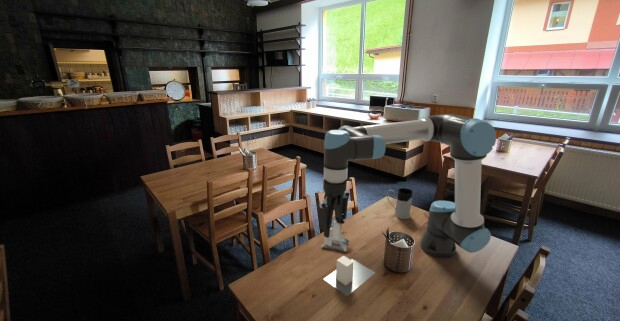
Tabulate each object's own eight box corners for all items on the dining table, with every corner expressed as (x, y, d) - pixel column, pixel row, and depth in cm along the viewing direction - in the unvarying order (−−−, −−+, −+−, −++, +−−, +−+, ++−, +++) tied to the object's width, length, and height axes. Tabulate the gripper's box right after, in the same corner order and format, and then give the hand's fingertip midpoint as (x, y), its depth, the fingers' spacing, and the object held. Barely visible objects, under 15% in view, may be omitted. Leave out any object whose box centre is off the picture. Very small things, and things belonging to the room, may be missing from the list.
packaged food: (345, 255, 128) (346, 246, 126) (320, 250, 131) (320, 241, 129) (349, 244, 135) (350, 235, 134) (325, 240, 139) (325, 231, 137)
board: (351, 261, 124) (351, 258, 124) (375, 275, 116) (375, 272, 115) (323, 281, 112) (323, 279, 112) (347, 298, 104) (347, 296, 103)
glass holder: (408, 220, 157) (411, 195, 152) (383, 213, 164) (385, 189, 159) (411, 213, 164) (415, 189, 159) (387, 207, 171) (389, 184, 166)
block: (342, 274, 114) (343, 255, 111) (352, 281, 111) (353, 261, 108) (335, 279, 112) (336, 260, 109) (345, 286, 108) (347, 266, 105)
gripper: (342, 169, 100) (339, 228, 107) (308, 182, 89) (307, 246, 96) (360, 175, 95) (355, 236, 102) (325, 189, 83) (323, 257, 91)
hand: (332, 241), depth 99 cm, fingers open, 4 cm apart
